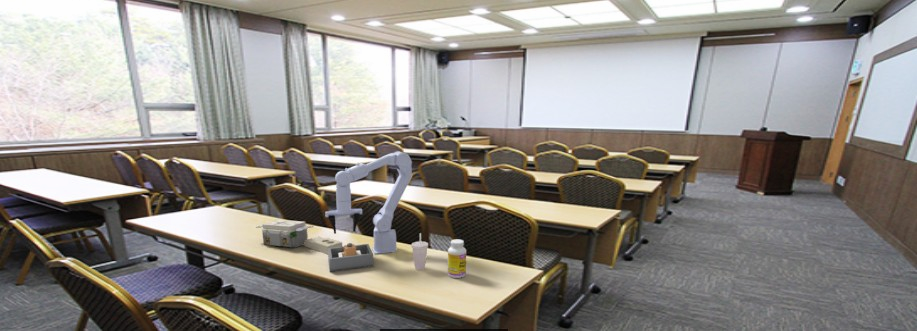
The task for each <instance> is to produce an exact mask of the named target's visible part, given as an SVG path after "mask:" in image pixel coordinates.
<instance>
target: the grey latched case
mask: <svg viewBox="0 0 917 331" xmlns="http://www.w3.org/2000/svg"><path fill="white" fill-rule="evenodd" d="M255 228H256V229H259V228H261V232H262V242H263V245H269V246H277V247H288V248H297V247H300V246H303V245H304V246H305V244H304V240H307V239H309V236H308V229H310V228H314V225H307V224H306V221H300V220H299V221H298V220H288V219H287V220H285V219H276V220H273V221H269V222H266V223H263V224H262V225H258V226H257V225H256V226H255Z"/></svg>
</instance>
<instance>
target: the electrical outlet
mask: <svg viewBox="0 0 917 331" xmlns="http://www.w3.org/2000/svg"><path fill="white" fill-rule="evenodd" d="M304 247H306V248H309V249H312V250H315V251H316V252H320V253H323V254H325V255H328V248H335V247H343V242H342V241H339V240H336V239H334V238H330V237H322V236H315V237H310V238H307V240H304Z"/></svg>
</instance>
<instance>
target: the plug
mask: <svg viewBox="0 0 917 331" xmlns="http://www.w3.org/2000/svg"><path fill="white" fill-rule="evenodd" d="M343 247H344V257H345V256H353V255H356V247H355V244H353V243H351V242H348V243H347V244H346V245H343Z"/></svg>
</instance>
